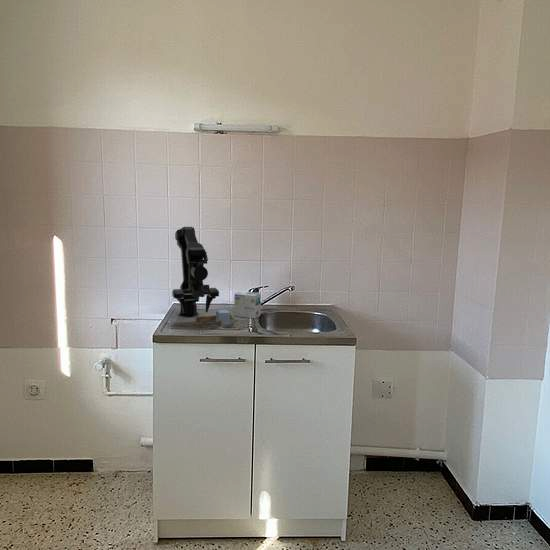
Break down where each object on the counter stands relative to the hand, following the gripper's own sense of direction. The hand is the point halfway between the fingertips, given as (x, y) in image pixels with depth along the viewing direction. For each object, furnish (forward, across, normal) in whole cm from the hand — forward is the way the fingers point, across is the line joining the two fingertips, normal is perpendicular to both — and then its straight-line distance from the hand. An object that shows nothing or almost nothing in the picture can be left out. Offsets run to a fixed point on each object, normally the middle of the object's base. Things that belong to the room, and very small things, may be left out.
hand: (195, 313), depth 204 cm
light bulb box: (+5, +25, +9) cm, 27 cm away
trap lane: (+5, +9, -2) cm, 10 cm away
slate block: (+5, +12, 0) cm, 13 cm away
